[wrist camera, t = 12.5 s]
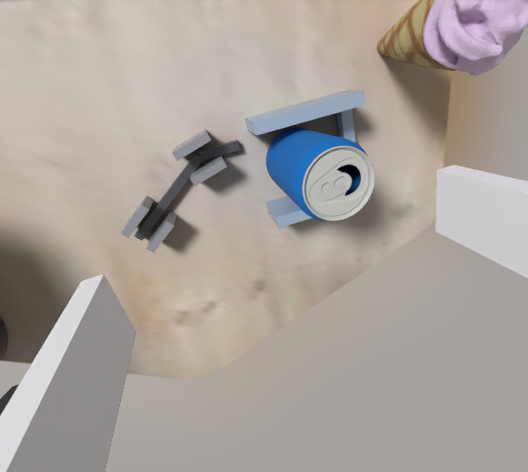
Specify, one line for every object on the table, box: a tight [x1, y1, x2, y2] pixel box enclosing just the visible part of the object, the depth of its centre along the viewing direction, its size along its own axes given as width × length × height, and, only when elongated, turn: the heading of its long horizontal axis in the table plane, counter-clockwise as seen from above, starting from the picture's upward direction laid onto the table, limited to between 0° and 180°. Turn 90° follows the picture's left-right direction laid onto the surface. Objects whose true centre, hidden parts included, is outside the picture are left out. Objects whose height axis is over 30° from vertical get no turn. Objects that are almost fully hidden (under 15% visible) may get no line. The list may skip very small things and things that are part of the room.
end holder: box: [245, 91, 373, 228], centre depth 31 cm, size 11×10×5 cm
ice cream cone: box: [377, 0, 528, 76], centre depth 24 cm, size 7×6×15 cm
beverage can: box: [266, 128, 375, 221], centre depth 28 cm, size 6×6×12 cm
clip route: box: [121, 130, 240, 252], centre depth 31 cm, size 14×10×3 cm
